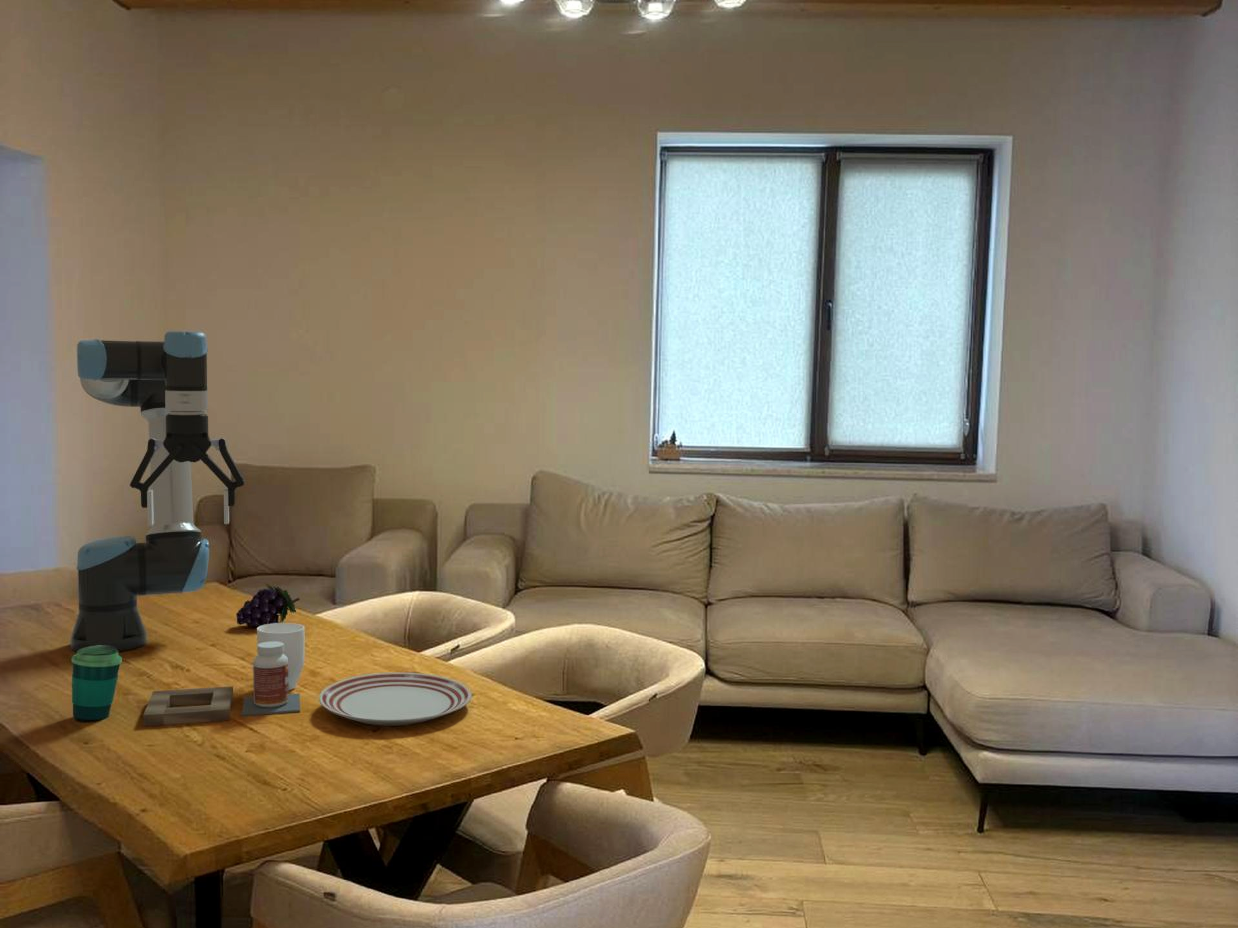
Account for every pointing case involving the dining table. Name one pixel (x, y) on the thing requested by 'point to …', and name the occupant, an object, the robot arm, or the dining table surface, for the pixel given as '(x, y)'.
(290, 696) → the coaster
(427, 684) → the dinner plate
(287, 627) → the mug
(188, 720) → the collar
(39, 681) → the dining table surface
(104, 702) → the cup
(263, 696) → the pill bottle
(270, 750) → the dining table surface
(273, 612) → the fruit
